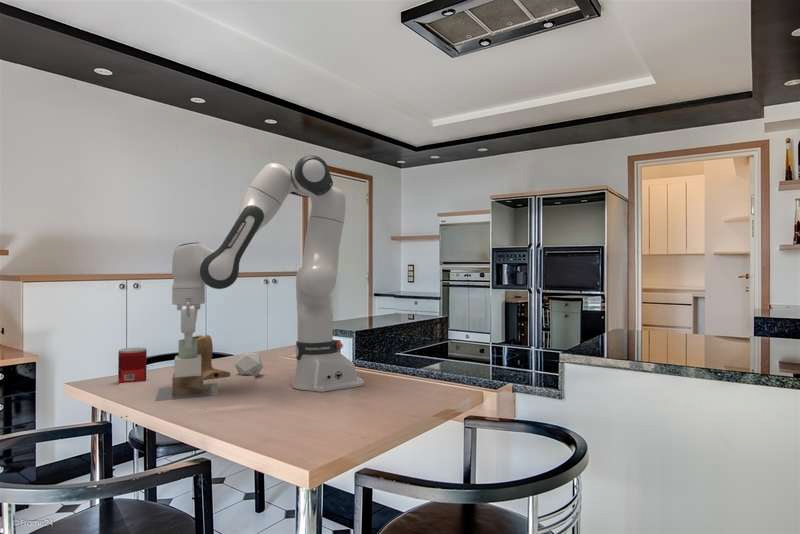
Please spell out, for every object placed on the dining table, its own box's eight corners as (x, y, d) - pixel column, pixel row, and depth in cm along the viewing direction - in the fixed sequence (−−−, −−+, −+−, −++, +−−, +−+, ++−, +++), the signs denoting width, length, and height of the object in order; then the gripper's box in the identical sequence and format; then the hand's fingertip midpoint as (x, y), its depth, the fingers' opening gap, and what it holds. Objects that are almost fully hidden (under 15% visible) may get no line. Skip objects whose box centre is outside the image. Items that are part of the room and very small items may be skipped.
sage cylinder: (197, 355, 144) (197, 338, 144) (197, 357, 139) (197, 340, 139) (178, 356, 142) (178, 339, 142) (178, 359, 137) (178, 341, 137)
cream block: (201, 371, 145) (201, 354, 145) (201, 375, 139) (201, 358, 139) (175, 372, 142) (175, 356, 142) (174, 377, 136) (174, 359, 136)
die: (247, 382, 160) (265, 357, 163) (225, 368, 161) (244, 343, 165) (254, 386, 168) (271, 361, 171) (233, 372, 169) (251, 348, 173)
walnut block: (202, 387, 146) (202, 370, 146) (203, 393, 138) (203, 375, 138) (173, 389, 142) (173, 372, 143) (172, 396, 135) (172, 378, 135)
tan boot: (172, 380, 161) (173, 335, 161) (205, 374, 170) (205, 331, 171) (199, 386, 152) (199, 338, 152) (231, 379, 162) (231, 334, 162)
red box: (151, 382, 158) (151, 348, 158) (126, 386, 151) (126, 351, 151) (138, 379, 162) (138, 346, 162) (113, 383, 155) (113, 349, 156)
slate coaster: (216, 387, 151) (216, 383, 151) (218, 399, 136) (218, 395, 136) (159, 392, 145) (159, 388, 145) (155, 405, 130) (155, 401, 130)
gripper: (200, 299, 132) (200, 349, 132) (200, 296, 151) (200, 340, 151) (175, 300, 130) (175, 351, 130) (178, 296, 149) (178, 341, 149)
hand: (188, 345), depth 141 cm, fingers open, 8 cm apart
